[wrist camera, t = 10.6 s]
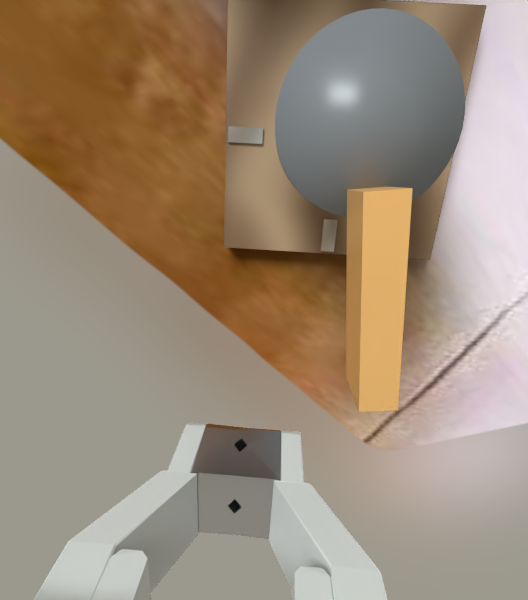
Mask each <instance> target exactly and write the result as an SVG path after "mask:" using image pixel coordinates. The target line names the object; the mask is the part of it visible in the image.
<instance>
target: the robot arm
mask: <svg viewBox="0 0 528 600" xmlns="http://www.w3.org/2000/svg"><path fill="white" fill-rule="evenodd" d="M198 532H202V533H218V534H235V535H242V536H250V537H258V538H266V539H269V542H270V544H271V546H272V548H273V551H274V553H275V555H276V557H277V559H278V561H279V564H280V566H281V568H282V570H283V572H284V574H285V576H286V579H287V581H288V583H289V585H290V587H291V589H292V596H291V600H387V597H386V592H385V588H384V584H383V580H382V576H381V572H380V571H379V570H378V568H377V567H376V566H375V565H374V563H373V562H372V561H371V560H370V558H369V557H368V556H367V554H366V553H365V552H364V551H363V549H362V548H361V547H360V546H359V544H358V543H357V542H356V540H355V539H354V538H353V537H352V536H351V534H350V533H349V532H348V530H347V529H346V528H345V527H344V525H343V524H342V523H341V522H340V520H339V519H338V518H337V516H336V515H335V514H334V513H333V511H332V510H331V509H330V507H329V506H328V505H327V504H326V502H325V501H324V500H323V499H322V497H321V496H320V495H319V494H318V492H317V491H316V490H315V488H314V487H313V486H312V485H311V484H309V483H305V482H304V467H303V453H302V441H301V433H300V431H286V430H285V431H284V430H281V431H280V430H266V429H254V428H242V427H233V426H223V425H213V424H201V423H192V422H191V423H190V422H188V424H187V425H186V426H185V428H184V431H183V433H182V436H181V438H180V441H179V443H178V446H177V448H176V451H175V453H174V456H173V458H172V461H171V463H170V466H169V468H168V471H160V472H159V473H158V474H156V475H155V476H154V477H152V478H151V479H150V480H148V481H147V482H146V483H144V484H143V485H142V486H140V487H139V488H138V489H137V490H135V491H134V492H133V493H131V494H130V495H129V496H127V497H126V498H125V499H124V500H122V501H121V502H119V503H118V504H117V505H116V506H114V507H113V508H112V509H111V510H109V511H108V512H106V513H105V514H104V515H102V516H101V517H100V518H98V519H97V520H96V521H94V522H93V523H92V524H91V525H89V526H88V527H87V528H85V529H84V530H83V531H81V532H80V533H79V534H77V535H76V536H75V537H74V538H72V539H71V540H69V542H68V543H67V545H66V546H65V548H64V549H63V551H62V553H61V554H60V556H59V558H58V560H57V561H56V563H55V565H54V566H53V568H52V570H51V571H50V573H49V575H48V576H47V578H46V580H45V581H44V583H43V585H42V586H41V588H40V590H39V591H38V593H37V595H36V596H35V598H34V600H151V592H152V591H153V589H154V588H155V587H156V586H157V585H158V583H159V582H160V581H161V580H162V578H163V577H164V576H165V575H166V573H167V572H168V571H169V570H170V568H171V567H172V566H173V565H174V564H175V562H176V561H177V560H178V559H179V558H180V556H181V555H182V554H183V553H184V551H185V550H186V549H187V548H188V546H189V545H190V544H191V543H192V542H193V540H194V539H195V538H196V537H197V535H198Z"/></svg>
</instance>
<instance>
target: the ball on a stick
mask: <svg viewBox="0 0 528 600" xmlns="http://www.w3.org/2000/svg"><path fill="white" fill-rule="evenodd" d="M464 113H465V93H464V84H463V79H462V74H461V71H460V68H459V65H458V62H457V60H456V58H455V56H454V54H453V52H452V50H451V48H450V47H449V45H448V44H447V43H446V41H445V40H444V38H443V37H442V36H441V35H440V34H439V33H438V32H437V31H436V30H435V29H434V28H433V27H432V26H430V25H429V24H427V23H426V22H425V21H423V20H422V19H420V18H418V17H416V16H414V15H412V14H409V13H406V12H402V11H399V10H393V9H386V8H378V9H367V10H361V11H357V12H354V13H351V14H348V15H345V16H343V17H341V18H339V19H337V20H335V21H333V22H331V23H330V24H328V25H327V26H326V27H324V28H323V29H321V30H320V31H319V32H318V33H317V34H315V35H314V36H313V37H312V38H311V39H310V40H309V41H308V42H307V43H306V45H305V46H304V47H303V48H302V49H301V50H300V52H299V53H298V55H297V56H296V58H295V59H294V61H293V62H292V64H291V66H290V68H289V70H288V72H287V74H286V76H285V78H284V81H283V84H282V86H281V89H280V93H279V97H278V101H277V107H276V115H275V139H276V148H277V153H278V157H279V160H280V163H281V166H282V168H283V171H284V173H285V174H286V176H287V178H288V180H289V181H290V183H291V184H292V185H293V187H294V188H295V189H296V190H297V191H298V192H299V193H300V194H301V195H302V196H303V197H304V198H306V199H307V200H308V201H310V202H311V203H313V204H315V205H316V206H318V207H320V208H321V209H323V210H325V211H328V212H330V213H332V214H335V215H339V216H343V217H347V281H346V377H347V380H348V383H349V385H350V388H351V391H352V394H353V397H354V399H355V402H356V405H357V408H358V411H359V412H368V411H393V410H398V401H399V386H400V370H401V355H402V340H403V325H404V310H405V295H406V280H407V265H408V250H409V235H410V220H411V205H412V202H413V201H414V200H415V199H417V198H418V197H419V196H421V195H422V194H423V193H424V192H425V191H426V190H427V189H429V188H430V187H431V185H432V184H433V183H434V182H435V181H436V180H437V179H438V178H439V176H440V175H441V173H442V172H443V171H444V169H445V168H446V166H447V164H448V163H449V161H450V159H451V157H452V155H453V153H454V151H455V148H456V146H457V143H458V141H459V137H460V134H461V130H462V126H463V120H464Z"/></svg>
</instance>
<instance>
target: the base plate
mask: <svg viewBox="0 0 528 600" xmlns="http://www.w3.org/2000/svg"><path fill="white" fill-rule="evenodd" d="M378 8H386V9H393V10H399V11H402V12H406V13H409V14H412V15H414V16H416V17H418V18H420V19H422V20H423V21H425V22H426V23H427V24H429V25H430V26H432V27H433V28H434V29H435V30H436V31H437V32H438V33H439V34H440V35H441V36H442V37H443V38H444V40H445V41H446V43H447V44H448V45H449V47H450V48H451V50H452V52H453V54H454V56H455V58H456V60H457V62H458V65H459V68H460V71H461V74H462V79H463V84H464V93H465V99H466V95H467V90H468V86H469V81H470V77H471V72H472V68H473V63H474V59H475V54H476V50H477V45H478V41H479V36H480V32H481V27H482V23H483V18H484V14H485V9H486V5H468V4H448V3H427V2H407V1H386V0H228V22H227V92H226V161H225V231H224V247H226V248H243V249H260V250H276V251H293V252H310V253H326V254H343V255H347V217H343V216H339V215H335V214H332V213H330V212H328V211H325V210H323V209H321V208H320V207H318V206H316V205H315V204H313V203H311V202H310V201H308V200H307V199H306V198H304V197H303V196H302V195H301V194H300V193H299V192H298V191H297V190H296V189H295V188H294V187H293V185H292V184H291V183H290V181H289V180H288V178H287V176H286V174H285V173H284V171H283V168H282V166H281V163H280V160H279V157H278V153H277V148H276V139H275V115H276V107H277V101H278V97H279V93H280V89H281V86H282V84H283V81H284V78H285V76H286V74H287V72H288V70H289V68H290V66H291V64H292V62H293V61H294V59H295V58H296V56H297V55H298V53H299V52H300V50H301V49H302V48H303V47H304V46H305V45H306V43H307V42H308V41H309V40H310V39H311V38H312V37H313V36H314V35H315V34H317V33H318V32H319V31H320V30H321V29H323V28H324V27H326V26H327V25H328V24H330V23H331V22H333V21H335V20H337V19H339V18H341V17H343V16H345V15H348V14H351V13H354V12H357V11H361V10H367V9H378ZM453 154H454V153H453ZM452 158H453V155H452V157H451V159H450V161H449V163H448V164H447V166H446V168H445V169H444V171H443V172H442V173H441V175H440V176H439V178H438V179H437V180H436V181H435V182H434V183H433V184H432V185H431V187H430V188H429V189H427V190H426V191H425V192H424V193H423V194H422V195H421V196H419V197H418V198H417V199H415V200H414V201H413V202H412V205H411V220H410V235H409V250H408V258H410V259H426V260H430V257H431V253H432V248H433V244H434V239H435V235H436V230H437V226H438V221H439V217H440V212H441V208H442V203H443V199H444V194H445V190H446V185H447V181H448V176H449V172H450V167H451V163H452Z"/></svg>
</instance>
